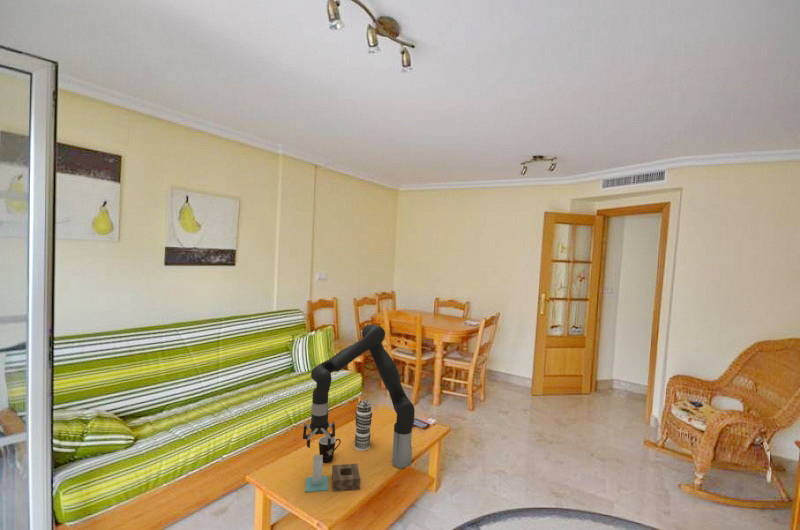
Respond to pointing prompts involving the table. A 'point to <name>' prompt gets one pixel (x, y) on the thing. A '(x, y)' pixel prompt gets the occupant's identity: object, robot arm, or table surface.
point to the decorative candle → (363, 425)
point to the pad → (316, 488)
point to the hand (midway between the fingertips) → (318, 446)
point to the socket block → (345, 477)
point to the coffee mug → (327, 448)
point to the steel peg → (317, 470)
